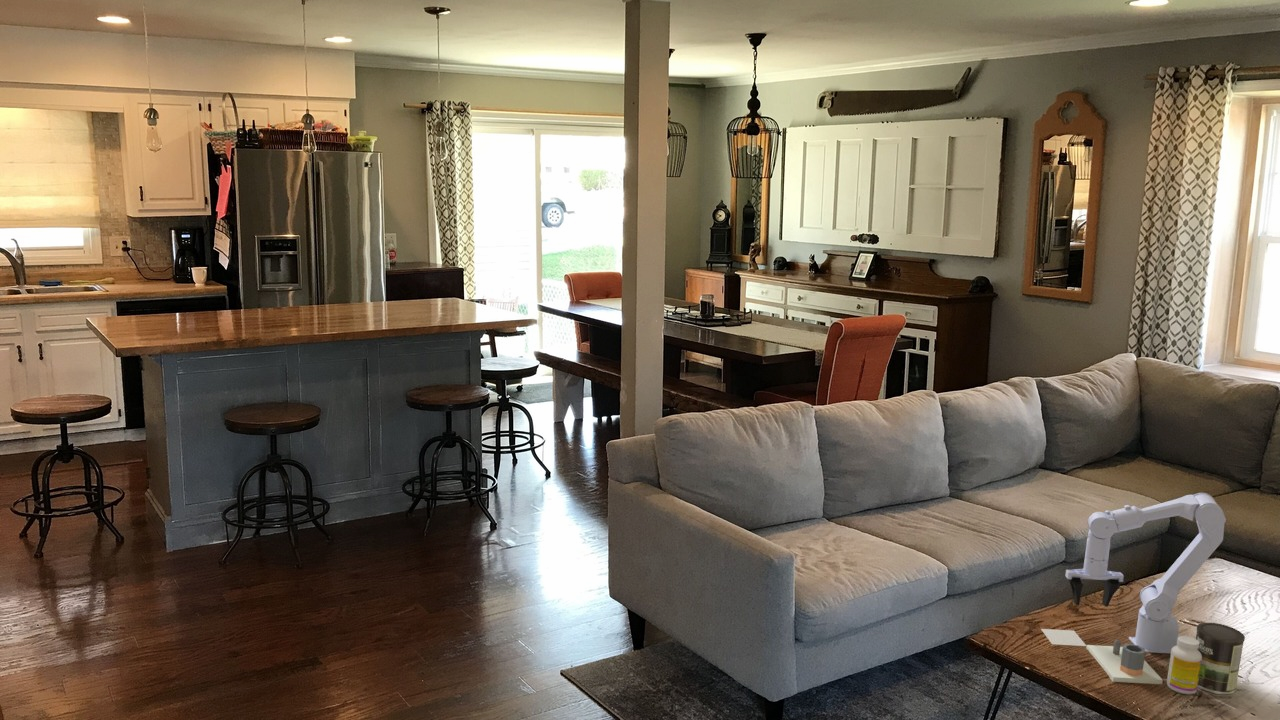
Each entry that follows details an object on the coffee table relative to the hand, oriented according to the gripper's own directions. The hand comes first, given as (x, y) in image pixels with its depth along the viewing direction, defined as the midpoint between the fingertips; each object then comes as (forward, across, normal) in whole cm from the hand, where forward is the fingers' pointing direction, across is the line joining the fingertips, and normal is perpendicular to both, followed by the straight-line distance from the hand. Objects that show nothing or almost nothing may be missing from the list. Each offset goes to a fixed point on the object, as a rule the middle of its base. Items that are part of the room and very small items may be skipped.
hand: (1090, 604), depth 269 cm
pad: (+9, +7, +2) cm, 12 cm away
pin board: (+9, -3, +16) cm, 19 cm away
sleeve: (+8, -3, +20) cm, 22 cm away
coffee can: (+10, -22, +23) cm, 33 cm away
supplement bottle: (+10, -13, +26) cm, 31 cm away
